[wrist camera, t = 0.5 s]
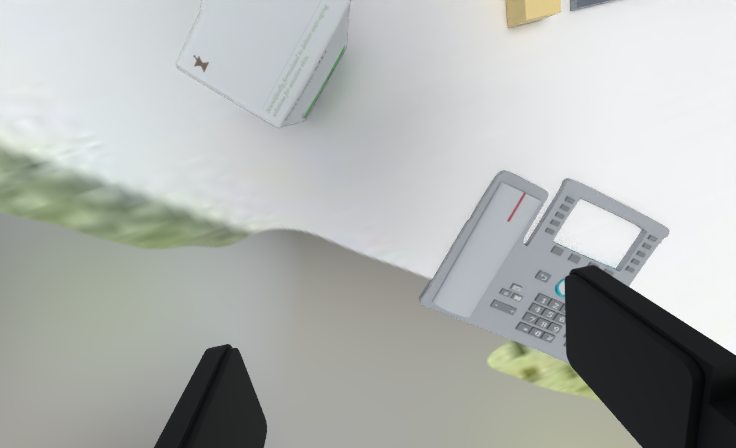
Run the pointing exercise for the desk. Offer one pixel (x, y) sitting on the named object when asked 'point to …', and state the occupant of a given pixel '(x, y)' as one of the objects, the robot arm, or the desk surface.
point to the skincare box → (267, 53)
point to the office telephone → (525, 262)
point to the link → (530, 10)
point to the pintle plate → (585, 3)
